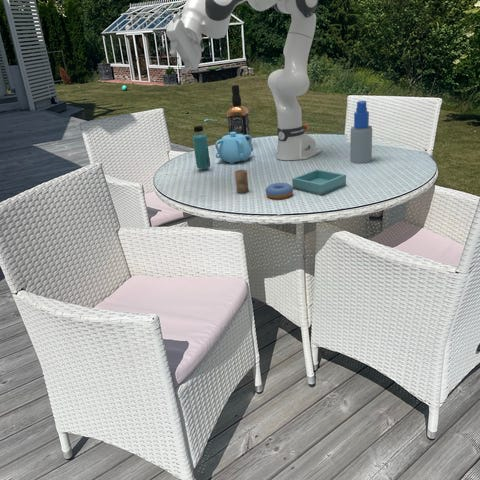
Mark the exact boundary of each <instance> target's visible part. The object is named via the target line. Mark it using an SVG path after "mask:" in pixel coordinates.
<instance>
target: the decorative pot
mask: <svg viewBox="0 0 480 480" xmlns="http://www.w3.org/2000/svg"><path fill="white" fill-rule="evenodd" d="M245 137H249V143H248V141H247V140H246V138H245ZM251 143H252V144H253V138H252V136H251V134H250V135H241V134H236V132H230V135H229V134H227V135H224V136H222V137H221V139H218V140H216V142H215V144H214V146H215V149H216V150H217V152H216V154H215V157H216V158H217V159H221V160H222V161H224V162H227V163H229V164H230V163H231V165H232V163H233V164H235V163H237V162H246V161H247V160H248V159H249V158H250V157H251V155H252V152H253V151H254V147H253V145H252V146H251ZM218 144H219V145H218Z"/></svg>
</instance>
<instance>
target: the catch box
mask: <svg viewBox="0 0 480 480" xmlns="http://www.w3.org/2000/svg"><path fill="white" fill-rule="evenodd" d="M291 179H292V182H291V183H292V185H291V186H292V188H293V190H296V191H301V192H304V193H309V194H312V195H313V194H314V195H316V196H324V195H327V194H329V193H331V192H333V191H336V190H338V189H340V188H342V187H345V186H346V185H347V175H346V174H343V173H339V172H338V173H337V172H332V171H328V170H322V169H314V170H312V171H311V170H310V171H309V172H306V173H304V174H301V175H298V176H295V177H294V178H291Z"/></svg>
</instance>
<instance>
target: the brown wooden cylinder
mask: <svg viewBox="0 0 480 480" xmlns="http://www.w3.org/2000/svg"><path fill="white" fill-rule="evenodd" d="M234 175H235V176H234V177H235V186H236V193H237V194H246V193H247V194H248V193H249V191H250V190H249V181H248V180H249V179H248V171H247V170H246V169H237V170H235V171H234Z"/></svg>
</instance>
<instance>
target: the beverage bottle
mask: <svg viewBox="0 0 480 480" xmlns="http://www.w3.org/2000/svg"><path fill="white" fill-rule="evenodd" d="M203 131H204V127H203V125H197V126H193V132H194V135H193V136H192V141H193V147H194V156H195V157H194V158H195V164H196V167H197V169H200V170H203V169H209V168H210V167H211V158H210V152H209V145H208V137H207V134H206V133H203Z"/></svg>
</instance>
